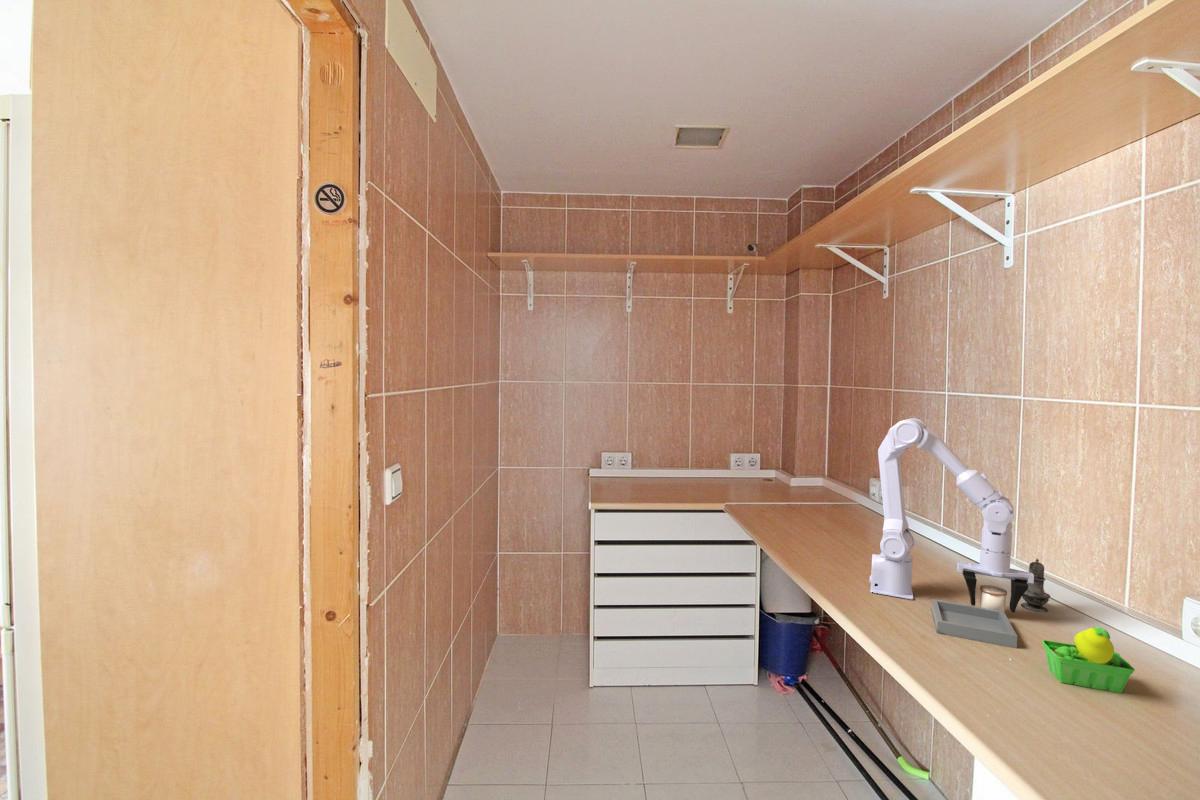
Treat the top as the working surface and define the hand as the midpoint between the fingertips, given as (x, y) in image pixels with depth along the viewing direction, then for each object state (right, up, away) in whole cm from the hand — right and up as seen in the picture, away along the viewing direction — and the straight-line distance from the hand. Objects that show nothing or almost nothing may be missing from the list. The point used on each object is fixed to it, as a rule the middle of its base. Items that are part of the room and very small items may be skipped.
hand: (992, 607), depth 133 cm
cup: (0, -2, 0) cm, 2 cm away
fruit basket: (-3, -3, -29) cm, 30 cm away
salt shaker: (+13, -2, +5) cm, 14 cm away
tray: (-10, -2, -7) cm, 12 cm away
